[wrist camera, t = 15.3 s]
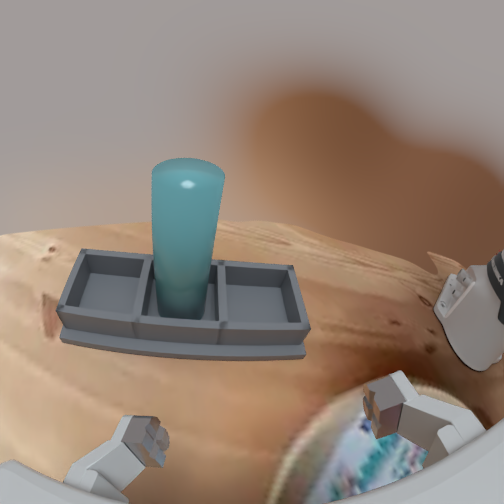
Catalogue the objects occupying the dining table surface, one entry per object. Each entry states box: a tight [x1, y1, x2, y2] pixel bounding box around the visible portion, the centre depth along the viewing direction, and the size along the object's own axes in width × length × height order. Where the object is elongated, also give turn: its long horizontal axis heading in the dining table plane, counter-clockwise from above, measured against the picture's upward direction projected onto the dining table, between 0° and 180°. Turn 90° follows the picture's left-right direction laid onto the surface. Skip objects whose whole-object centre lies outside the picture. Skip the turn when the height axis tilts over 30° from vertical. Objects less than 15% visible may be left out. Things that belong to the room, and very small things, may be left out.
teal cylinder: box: [152, 158, 225, 320], centre depth 22 cm, size 5×5×15 cm
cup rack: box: [56, 249, 311, 361], centre depth 27 cm, size 25×11×4 cm, turn 96°
